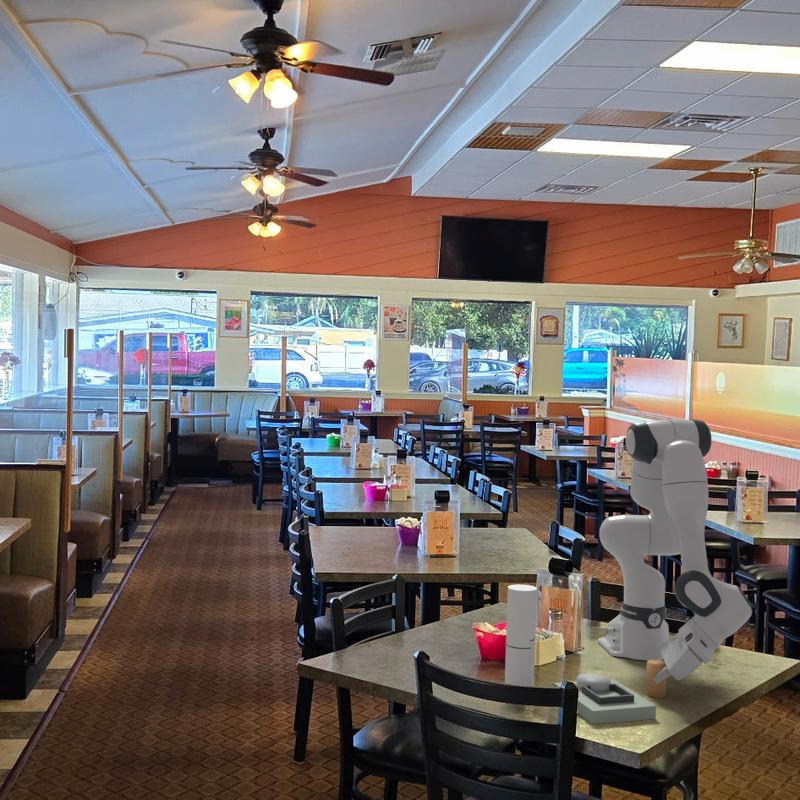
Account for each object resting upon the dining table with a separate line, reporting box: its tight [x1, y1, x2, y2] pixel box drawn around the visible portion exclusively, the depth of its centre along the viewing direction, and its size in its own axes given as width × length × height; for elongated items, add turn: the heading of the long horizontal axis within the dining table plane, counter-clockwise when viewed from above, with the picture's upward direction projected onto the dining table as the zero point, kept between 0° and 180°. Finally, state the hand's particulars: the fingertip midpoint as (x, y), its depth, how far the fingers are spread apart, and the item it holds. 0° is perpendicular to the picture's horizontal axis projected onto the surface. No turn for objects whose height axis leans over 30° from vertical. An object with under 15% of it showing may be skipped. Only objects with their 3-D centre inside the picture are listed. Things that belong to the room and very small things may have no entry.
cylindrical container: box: [504, 583, 538, 687], centre depth 244 cm, size 7×7×25 cm
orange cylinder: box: [645, 660, 667, 699], centre depth 242 cm, size 5×5×8 cm
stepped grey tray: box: [553, 673, 657, 725], centre depth 233 cm, size 20×16×5 cm
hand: (653, 676), depth 242 cm, fingers closed on orange cylinder, 5 cm apart
